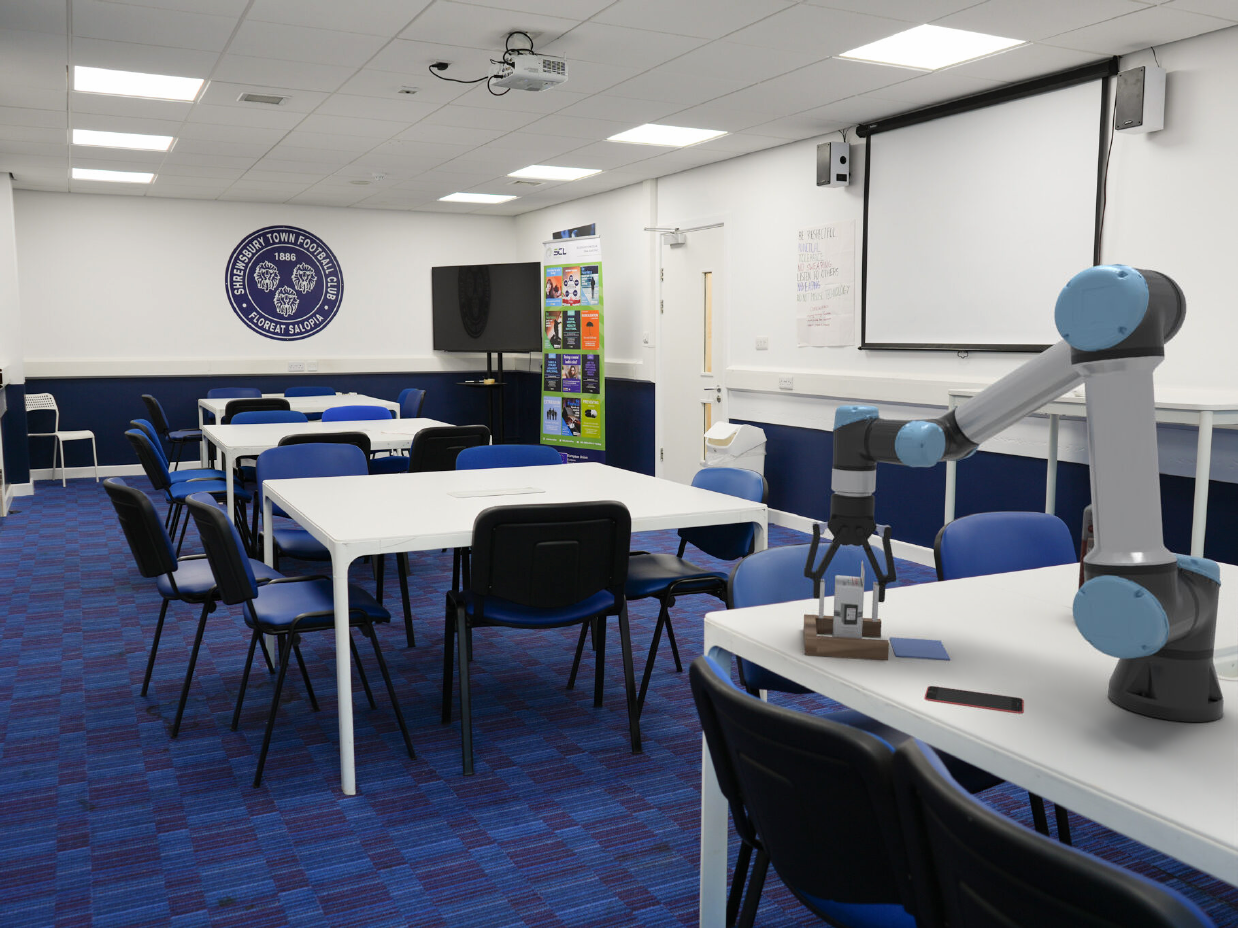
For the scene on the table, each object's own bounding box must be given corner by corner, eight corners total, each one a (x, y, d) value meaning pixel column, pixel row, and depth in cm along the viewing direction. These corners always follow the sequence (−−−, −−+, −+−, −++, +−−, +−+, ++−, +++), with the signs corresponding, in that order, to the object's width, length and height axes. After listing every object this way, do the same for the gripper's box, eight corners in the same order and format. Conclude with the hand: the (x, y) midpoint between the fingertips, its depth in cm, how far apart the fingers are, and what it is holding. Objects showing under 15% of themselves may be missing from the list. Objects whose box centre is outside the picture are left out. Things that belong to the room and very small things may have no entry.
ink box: (832, 637, 180) (835, 558, 178) (859, 639, 179) (863, 559, 177) (832, 650, 172) (836, 568, 170) (861, 652, 171) (865, 569, 169)
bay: (888, 660, 167) (889, 643, 166) (804, 654, 169) (805, 638, 169) (879, 634, 182) (880, 618, 182) (803, 629, 185) (804, 614, 184)
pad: (950, 660, 167) (950, 658, 167) (895, 656, 169) (895, 654, 169) (940, 641, 178) (940, 640, 178) (889, 638, 179) (889, 637, 179)
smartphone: (927, 684, 154) (1023, 697, 149) (927, 688, 154) (1023, 701, 149) (923, 698, 147) (1023, 712, 142) (923, 702, 148) (1023, 716, 142)
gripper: (913, 492, 174) (907, 616, 177) (791, 487, 178) (787, 609, 180) (918, 498, 167) (912, 627, 169) (791, 493, 171) (786, 619, 173)
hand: (847, 617), depth 175 cm, fingers open, 9 cm apart
